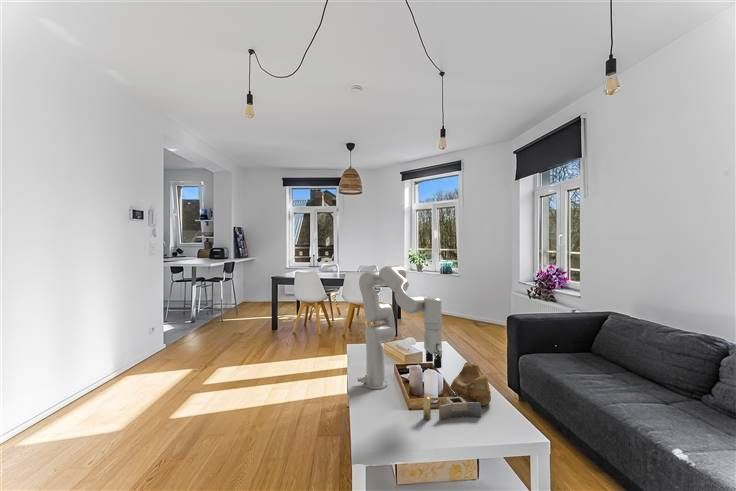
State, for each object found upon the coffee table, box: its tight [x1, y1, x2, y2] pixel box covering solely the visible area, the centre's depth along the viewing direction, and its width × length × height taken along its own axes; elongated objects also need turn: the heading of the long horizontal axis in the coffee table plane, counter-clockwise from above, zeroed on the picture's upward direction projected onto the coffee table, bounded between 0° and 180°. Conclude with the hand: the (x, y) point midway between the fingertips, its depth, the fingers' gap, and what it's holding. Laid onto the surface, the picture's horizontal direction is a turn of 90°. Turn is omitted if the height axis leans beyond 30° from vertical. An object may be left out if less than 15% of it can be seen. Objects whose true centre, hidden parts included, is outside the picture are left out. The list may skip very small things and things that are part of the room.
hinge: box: [438, 396, 482, 421], centre depth 166 cm, size 19×8×6 cm, turn 100°
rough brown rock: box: [449, 361, 492, 407], centre depth 184 cm, size 23×17×15 cm
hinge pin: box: [423, 395, 432, 421], centre depth 162 cm, size 3×3×9 cm
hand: (433, 364), depth 169 cm, fingers open, 9 cm apart
